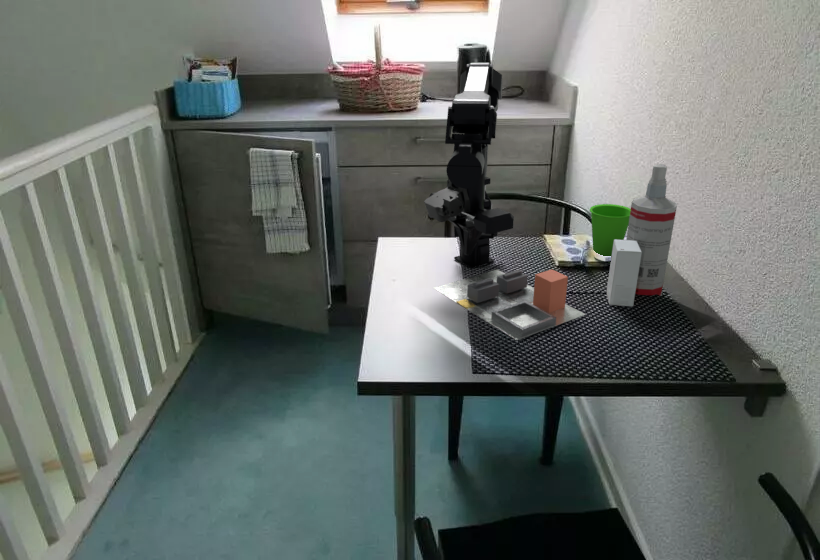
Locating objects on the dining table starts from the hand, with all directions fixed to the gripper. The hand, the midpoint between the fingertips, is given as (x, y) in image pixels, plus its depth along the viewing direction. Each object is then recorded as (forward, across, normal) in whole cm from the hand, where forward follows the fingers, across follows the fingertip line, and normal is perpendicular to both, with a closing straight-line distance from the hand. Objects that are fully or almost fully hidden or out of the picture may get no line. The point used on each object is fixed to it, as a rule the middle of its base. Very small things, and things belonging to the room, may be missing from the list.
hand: (467, 254), depth 112 cm
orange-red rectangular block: (+7, +14, +8) cm, 18 cm away
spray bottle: (+9, +18, +28) cm, 35 cm away
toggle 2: (+7, +5, +7) cm, 11 cm away
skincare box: (+9, +19, +21) cm, 30 cm away
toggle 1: (+7, +5, 0) cm, 8 cm away
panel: (+9, +8, +3) cm, 12 cm away
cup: (+9, +2, +37) cm, 38 cm away
